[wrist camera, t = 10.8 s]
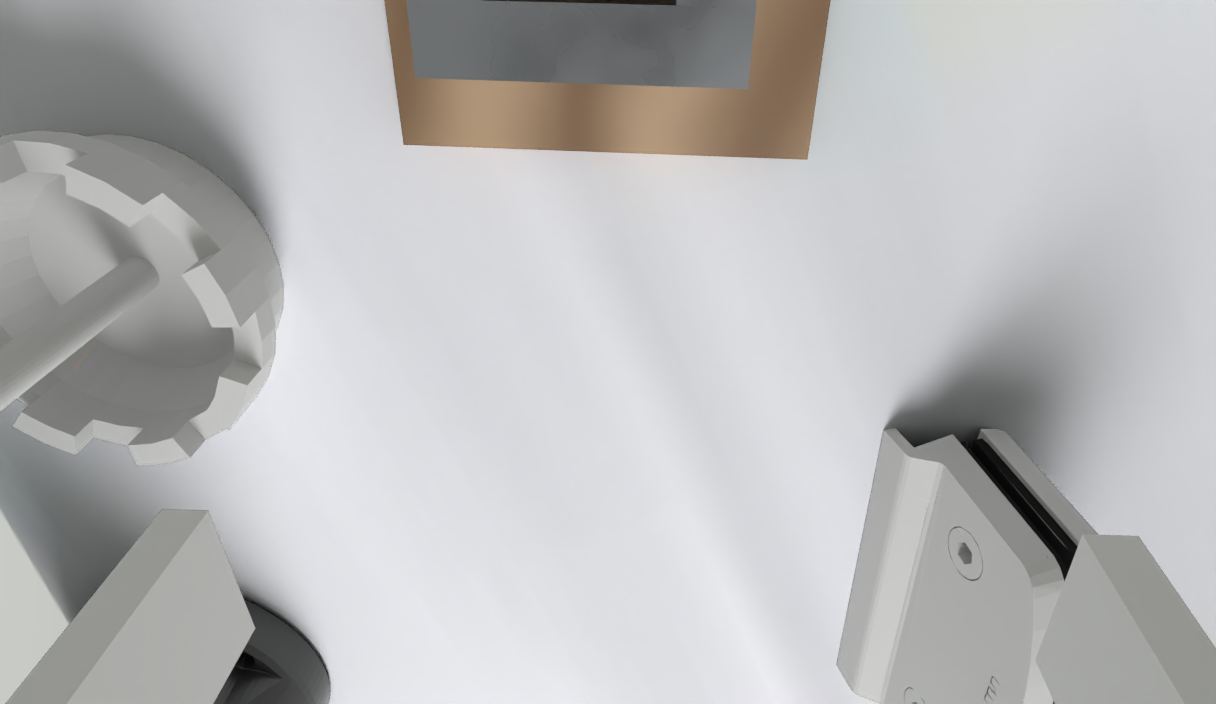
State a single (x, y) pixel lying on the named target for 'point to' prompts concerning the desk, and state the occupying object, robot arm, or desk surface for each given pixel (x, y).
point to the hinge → (957, 574)
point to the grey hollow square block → (585, 41)
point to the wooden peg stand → (629, 101)
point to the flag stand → (129, 295)
